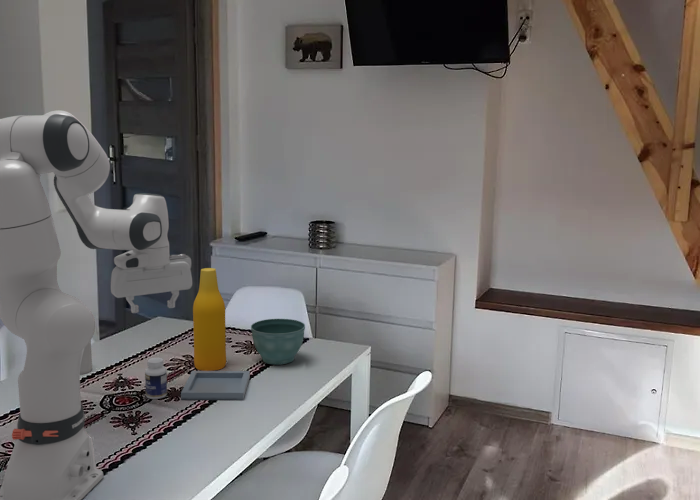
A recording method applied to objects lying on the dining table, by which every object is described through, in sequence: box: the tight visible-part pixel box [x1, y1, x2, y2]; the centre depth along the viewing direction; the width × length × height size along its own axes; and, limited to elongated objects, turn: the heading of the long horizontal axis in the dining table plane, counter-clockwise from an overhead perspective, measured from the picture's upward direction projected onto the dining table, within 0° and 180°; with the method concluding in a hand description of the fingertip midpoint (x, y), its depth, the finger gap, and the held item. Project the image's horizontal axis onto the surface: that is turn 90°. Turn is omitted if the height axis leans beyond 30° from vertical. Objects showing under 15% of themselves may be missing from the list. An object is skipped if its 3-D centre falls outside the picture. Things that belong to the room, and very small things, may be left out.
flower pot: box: [250, 318, 306, 366], centre depth 214 cm, size 16×16×11 cm
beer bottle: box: [192, 267, 227, 371], centre depth 206 cm, size 9×9×29 cm
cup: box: [80, 340, 93, 375], centre depth 202 cm, size 7×10×9 cm
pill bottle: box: [144, 357, 168, 400], centre depth 185 cm, size 5×5×10 cm
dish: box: [180, 370, 251, 401], centre depth 192 cm, size 16×16×2 cm
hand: (153, 309), depth 182 cm, fingers open, 8 cm apart
